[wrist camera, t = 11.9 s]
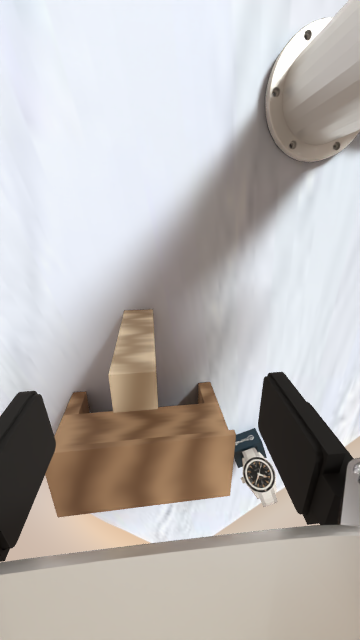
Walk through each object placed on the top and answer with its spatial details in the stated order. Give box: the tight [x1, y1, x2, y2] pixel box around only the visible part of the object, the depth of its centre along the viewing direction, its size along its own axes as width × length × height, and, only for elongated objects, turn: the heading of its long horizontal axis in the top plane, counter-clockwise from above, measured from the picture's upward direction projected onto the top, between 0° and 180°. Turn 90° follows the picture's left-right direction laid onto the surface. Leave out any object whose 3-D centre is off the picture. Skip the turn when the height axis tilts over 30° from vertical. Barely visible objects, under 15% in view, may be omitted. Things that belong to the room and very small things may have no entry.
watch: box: [234, 428, 277, 507], centre depth 43 cm, size 6×8×11 cm
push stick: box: [108, 309, 158, 413], centre depth 33 cm, size 13×23×16 cm, turn 1°
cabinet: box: [45, 382, 236, 517], centre depth 38 cm, size 23×12×12 cm, turn 91°
